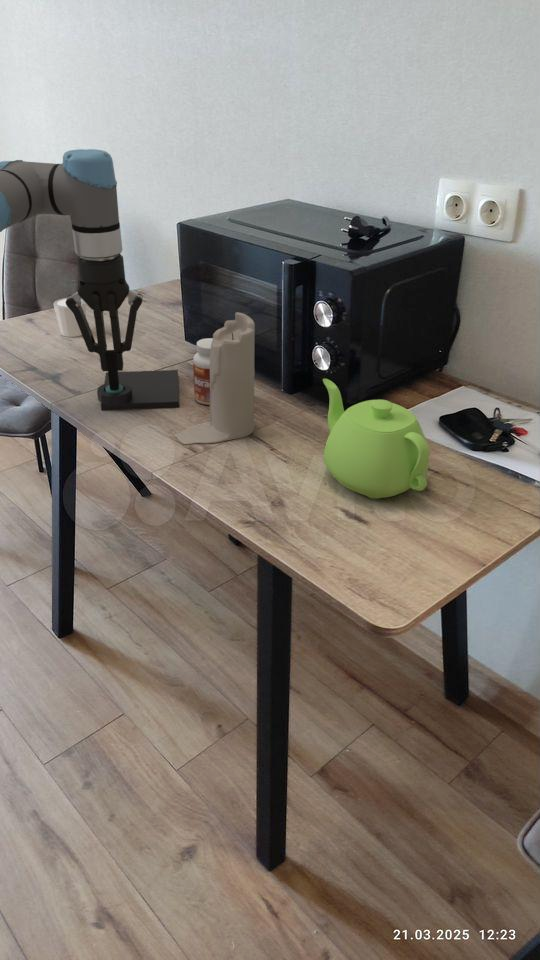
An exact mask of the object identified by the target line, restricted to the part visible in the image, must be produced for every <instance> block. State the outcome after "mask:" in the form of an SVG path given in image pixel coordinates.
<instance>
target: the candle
mask: <svg viewBox="0 0 540 960" xmlns="http://www.w3.org/2000/svg"><path fill="white" fill-rule="evenodd" d="M234 314H235V315H234V317H235V319H231V320H230V319H229V320H226V321H225V322H224V325H223V327H221V328H218V329H217V330H215V332H214V333H213V334H212V338H213V340H212V343H211V352H210V405H209V421H205V422H201V423H197V424H194V425H190V426H187V428H185V429H184V430H183V431H181V432H177V433H175V434H174V436H173V437H175V438H176V439H177V440H178V442H179V443H181V444H183V445H191V444H203V445H205V444H206V445H208V444H217V443H221V442H226V441H231V440H236V439H242V438H245V437H248V436H250V435H252V433H253V432H254V429H255V373H256V370H255V369H256V368H255V337H256V335H255V334H256V333H255V332H256V329H255V328H256V327H255V326H256V325H255V321H254V320H253V319H252V318H251V316H249V315H247V314H245V313H243V312H239V311H238V312H237V311H236V312H235V313H234Z"/></svg>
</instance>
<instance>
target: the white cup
mask: <svg viewBox="0 0 540 960" xmlns="http://www.w3.org/2000/svg"><path fill="white" fill-rule="evenodd" d="M66 300H67V297H64V298H60V299H57V300H55V301H53V303H52V304H53V308H54V312H55V316H56V321H57V324H58V329H59V332H60V335H61V336H63V337H66V338H77V337H82V334H81V331H80V329H79V326H78V324H77V321H76V319H75V316H74V314H73V312H72V311H71V310H70V309H69V308H68V306H67V305H66ZM81 301H82V304H81V307H82V309H83V311H84V314H85V316H86V317H87V306H86V305H87V304H86V302H85V301H84V300H83V299H82V298H81Z"/></svg>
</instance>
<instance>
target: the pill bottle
mask: <svg viewBox="0 0 540 960" xmlns="http://www.w3.org/2000/svg"><path fill="white" fill-rule="evenodd" d="M212 340H213V337H211V338H209V337H208V338H201V339H199V340H198V341H196V353H195V354H194V356H193V359H192V366H193V367H192V368H193V395H194V399H195V401H196V402H197V403H199V404H201V405H207V406H210V352H211V343H212Z"/></svg>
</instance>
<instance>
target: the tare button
mask: <svg viewBox="0 0 540 960" xmlns="http://www.w3.org/2000/svg"><path fill="white" fill-rule="evenodd" d="M105 390H106V393H110V394H114V393H120V392H122V391H124V389H123V386H122V385H119V389H118V390H110V385H108V386H107V387H106V388H105Z"/></svg>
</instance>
